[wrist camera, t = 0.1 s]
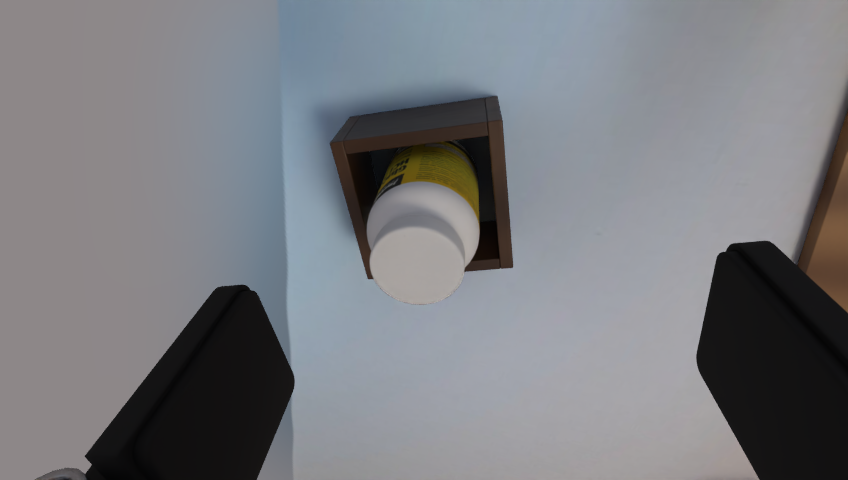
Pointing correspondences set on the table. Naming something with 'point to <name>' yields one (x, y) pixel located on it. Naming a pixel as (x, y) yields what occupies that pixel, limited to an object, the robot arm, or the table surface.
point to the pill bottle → (424, 222)
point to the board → (831, 229)
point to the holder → (417, 130)
